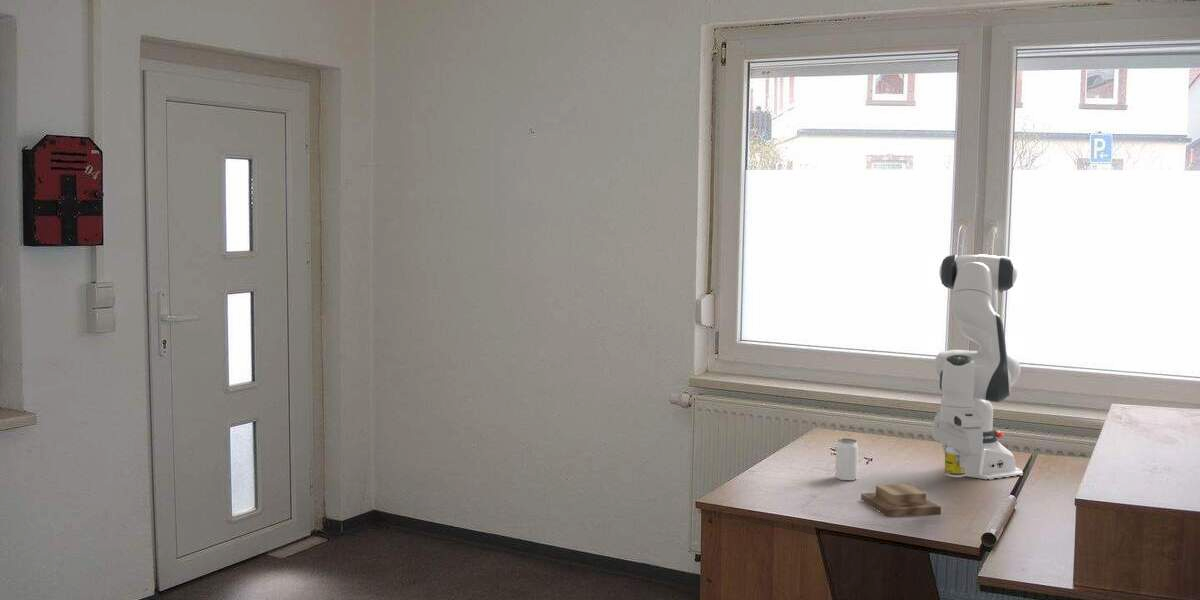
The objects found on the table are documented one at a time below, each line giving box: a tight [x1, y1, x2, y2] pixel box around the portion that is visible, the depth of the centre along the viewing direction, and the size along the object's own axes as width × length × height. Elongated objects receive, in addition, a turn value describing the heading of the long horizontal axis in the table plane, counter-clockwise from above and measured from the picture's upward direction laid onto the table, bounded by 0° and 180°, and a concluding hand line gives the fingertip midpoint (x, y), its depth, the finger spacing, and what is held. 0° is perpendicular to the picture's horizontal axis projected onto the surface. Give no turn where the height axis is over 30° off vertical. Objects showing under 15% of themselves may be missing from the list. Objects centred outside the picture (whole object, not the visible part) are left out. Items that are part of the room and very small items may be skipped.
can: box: [835, 438, 859, 481], centre depth 323 cm, size 6×6×12 cm
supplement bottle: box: [944, 440, 966, 478], centre depth 289 cm, size 5×5×10 cm
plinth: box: [860, 483, 942, 517], centre depth 293 cm, size 16×16×5 cm
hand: (955, 463), depth 289 cm, fingers closed on supplement bottle, 5 cm apart
